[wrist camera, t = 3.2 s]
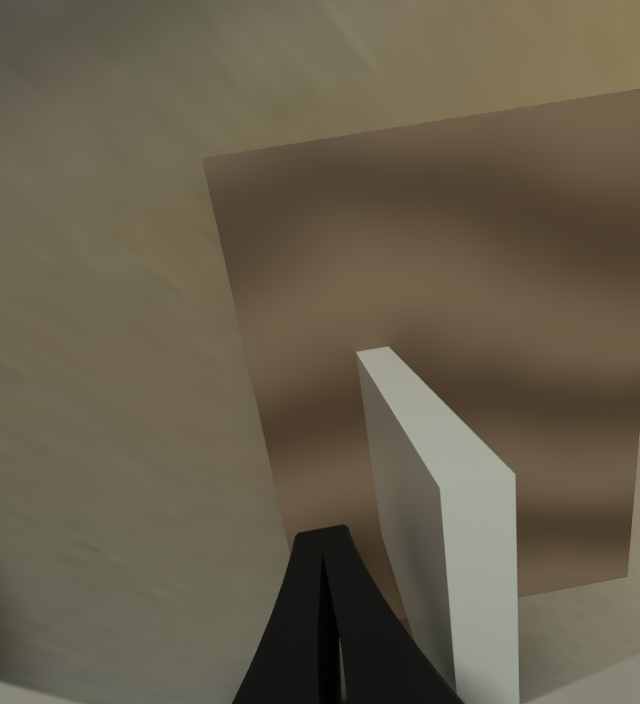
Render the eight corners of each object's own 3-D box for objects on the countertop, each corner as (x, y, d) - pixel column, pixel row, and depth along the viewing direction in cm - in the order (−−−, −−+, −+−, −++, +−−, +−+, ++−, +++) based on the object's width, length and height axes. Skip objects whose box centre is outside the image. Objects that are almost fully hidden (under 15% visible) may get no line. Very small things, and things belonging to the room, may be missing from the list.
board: (609, 559, 18) (627, 576, 17) (308, 616, 18) (309, 637, 17) (640, 96, 13) (669, 84, 12) (209, 165, 12) (201, 158, 11)
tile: (412, 526, 16) (527, 794, 8) (380, 532, 16) (465, 806, 8) (392, 345, 13) (524, 473, 6) (355, 352, 13) (439, 487, 6)
